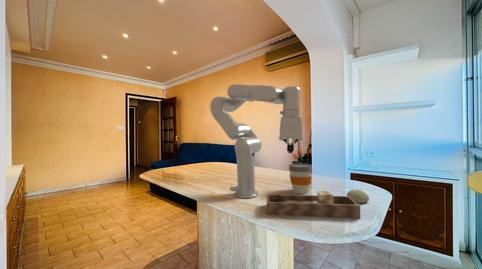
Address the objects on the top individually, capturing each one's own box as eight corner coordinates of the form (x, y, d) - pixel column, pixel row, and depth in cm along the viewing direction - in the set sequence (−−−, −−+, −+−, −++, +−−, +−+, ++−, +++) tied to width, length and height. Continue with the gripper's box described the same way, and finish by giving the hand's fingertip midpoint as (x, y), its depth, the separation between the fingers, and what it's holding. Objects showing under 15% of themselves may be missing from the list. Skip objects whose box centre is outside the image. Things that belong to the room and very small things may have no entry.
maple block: (320, 206, 82) (320, 194, 82) (317, 202, 87) (317, 190, 87) (333, 207, 81) (333, 194, 81) (329, 202, 86) (329, 191, 86)
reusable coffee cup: (291, 195, 106) (291, 167, 106) (287, 188, 118) (287, 163, 118) (315, 195, 105) (315, 167, 105) (309, 188, 118) (308, 163, 117)
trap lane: (267, 214, 83) (266, 202, 83) (267, 204, 93) (267, 194, 93) (360, 218, 77) (360, 205, 77) (349, 207, 88) (349, 196, 87)
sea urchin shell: (359, 201, 89) (349, 186, 94) (349, 209, 95) (340, 194, 100) (375, 199, 92) (364, 184, 97) (364, 206, 97) (355, 192, 102)
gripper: (274, 113, 90) (273, 153, 91) (309, 113, 87) (308, 154, 88) (275, 114, 97) (274, 151, 98) (306, 114, 94) (305, 152, 95)
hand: (290, 152), depth 93 cm, fingers closed
